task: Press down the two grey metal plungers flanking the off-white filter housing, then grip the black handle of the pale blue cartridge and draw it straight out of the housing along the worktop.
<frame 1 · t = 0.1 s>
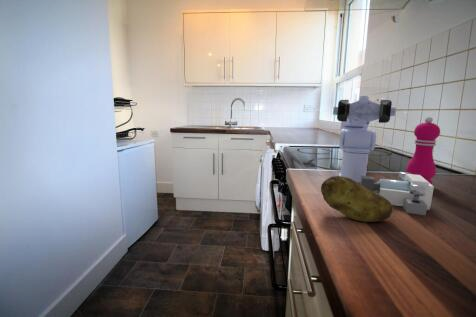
hand: (365, 108, 59), 22 cm above the counter, tool horizontal, fingers open, 7 cm apart
potato: (352, 217, 52), on the counter
plunger right: (416, 195, 55), point 4 cm above the counter, slide at 0.0 cm
pepper mill: (418, 185, 76), on the counter
plunger left: (404, 181, 66), point 4 cm above the counter, slide at 0.0 cm
cartridge: (388, 188, 62), point 3 cm above the counter, slide at 0.0 cm
housing: (397, 201, 62), on the counter
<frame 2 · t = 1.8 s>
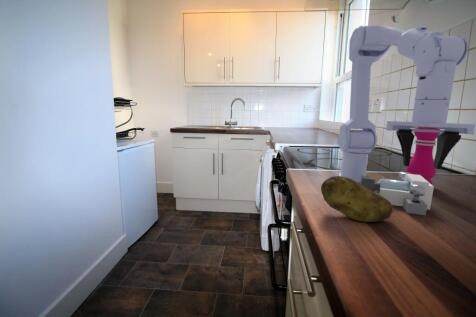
hand: (421, 166, 54), 10 cm above the counter, tool pointing down, fingers open, 5 cm apart
nothing on the counter moved.
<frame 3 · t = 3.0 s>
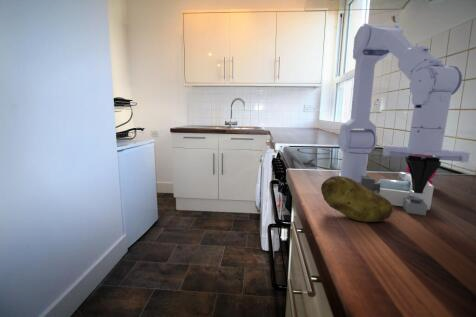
hand: (417, 191, 55), 4 cm above the counter, tool pointing down, fingers closed, pressing on plunger right
plunger right: (415, 200, 55), point 2 cm above the counter, slide at 1.3 cm, touching gripper
everything else where it was.
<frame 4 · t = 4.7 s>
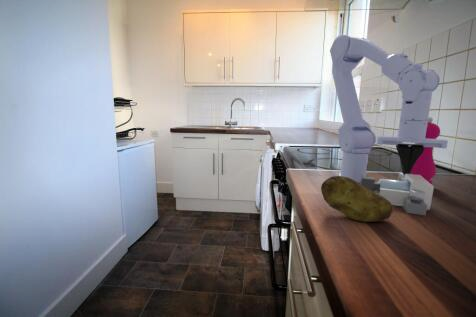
hand: (405, 174, 66), 6 cm above the counter, tool pointing down, fingers closed, pressing on plunger left
plunger right: (415, 200, 55), point 2 cm above the counter, slide at 1.3 cm
plunger left: (404, 181, 66), point 4 cm above the counter, slide at 0.2 cm, touching gripper
everything else where it was.
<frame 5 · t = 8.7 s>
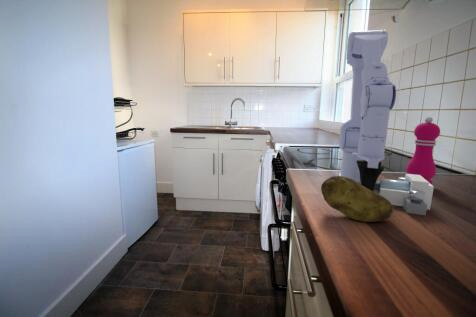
hand: (366, 190, 64), 2 cm above the counter, tool pointing down, fingers closed on cartridge, 3 cm apart
plunger left: (403, 186, 66), point 2 cm above the counter, slide at 1.3 cm
cartridge: (388, 188, 62), point 3 cm above the counter, slide at 0.0 cm, touching gripper
everything else where it was.
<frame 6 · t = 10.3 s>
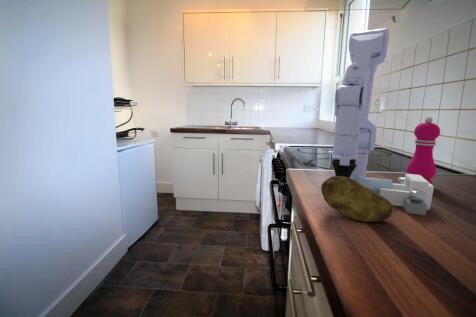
hand: (341, 187, 66), 2 cm above the counter, tool pointing down, fingers closed on cartridge, 3 cm apart
cartridge: (362, 185, 64), point 3 cm above the counter, slide at 5.6 cm, touching gripper
everything else where it was.
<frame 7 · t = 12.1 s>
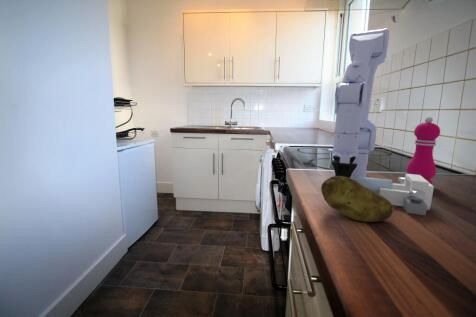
hand: (341, 185, 66), 2 cm above the counter, tool pointing down, fingers open, 7 cm apart
cartridge: (362, 185, 64), point 3 cm above the counter, slide at 5.6 cm
everything else where it was.
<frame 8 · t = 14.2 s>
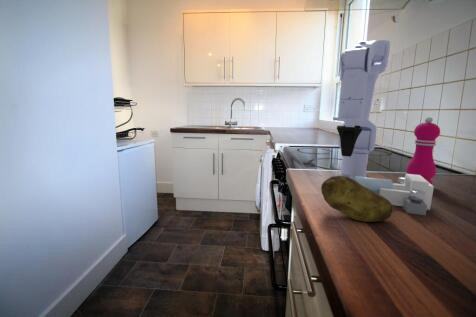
hand: (346, 153, 66), 10 cm above the counter, tool pointing down, fingers open, 7 cm apart
nothing on the counter moved.
at the end: cartridge slide at 5.6 cm; plunger right slide at 1.3 cm; plunger left slide at 1.3 cm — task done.
